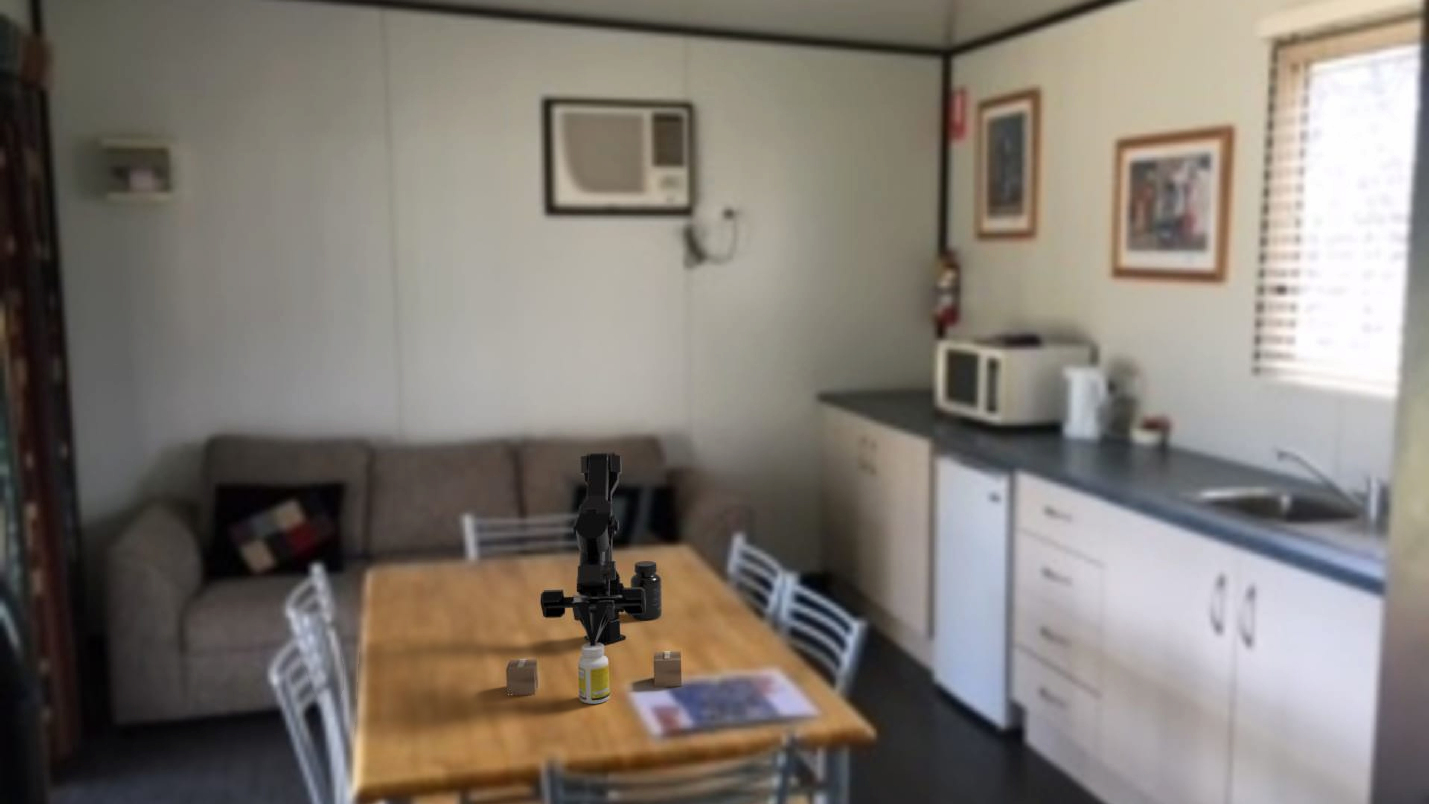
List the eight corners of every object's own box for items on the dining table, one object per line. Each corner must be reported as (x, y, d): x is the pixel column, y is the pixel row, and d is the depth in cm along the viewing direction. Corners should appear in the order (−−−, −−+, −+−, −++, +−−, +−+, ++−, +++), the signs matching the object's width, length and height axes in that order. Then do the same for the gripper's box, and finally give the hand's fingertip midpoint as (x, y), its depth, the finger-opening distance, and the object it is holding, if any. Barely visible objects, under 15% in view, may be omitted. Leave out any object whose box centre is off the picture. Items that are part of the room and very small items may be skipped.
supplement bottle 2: (625, 619, 253) (624, 565, 251) (639, 610, 259) (637, 558, 258) (654, 622, 250) (652, 568, 249) (667, 613, 256) (665, 560, 255)
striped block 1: (510, 686, 213) (509, 658, 212) (538, 685, 213) (537, 657, 212) (507, 695, 208) (505, 667, 207) (534, 694, 208) (533, 666, 208)
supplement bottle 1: (614, 694, 207) (613, 642, 205) (602, 706, 202) (600, 652, 200) (587, 691, 208) (585, 639, 207) (574, 702, 203) (572, 649, 202)
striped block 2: (654, 678, 216) (653, 650, 215) (681, 677, 216) (680, 649, 215) (654, 687, 211) (653, 659, 210) (681, 686, 211) (680, 658, 210)
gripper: (539, 546, 207) (534, 624, 197) (643, 543, 208) (643, 620, 198) (545, 578, 215) (541, 654, 206) (645, 575, 216) (645, 651, 206)
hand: (592, 644), depth 203 cm, fingers closed, pressing on supplement bottle 1
